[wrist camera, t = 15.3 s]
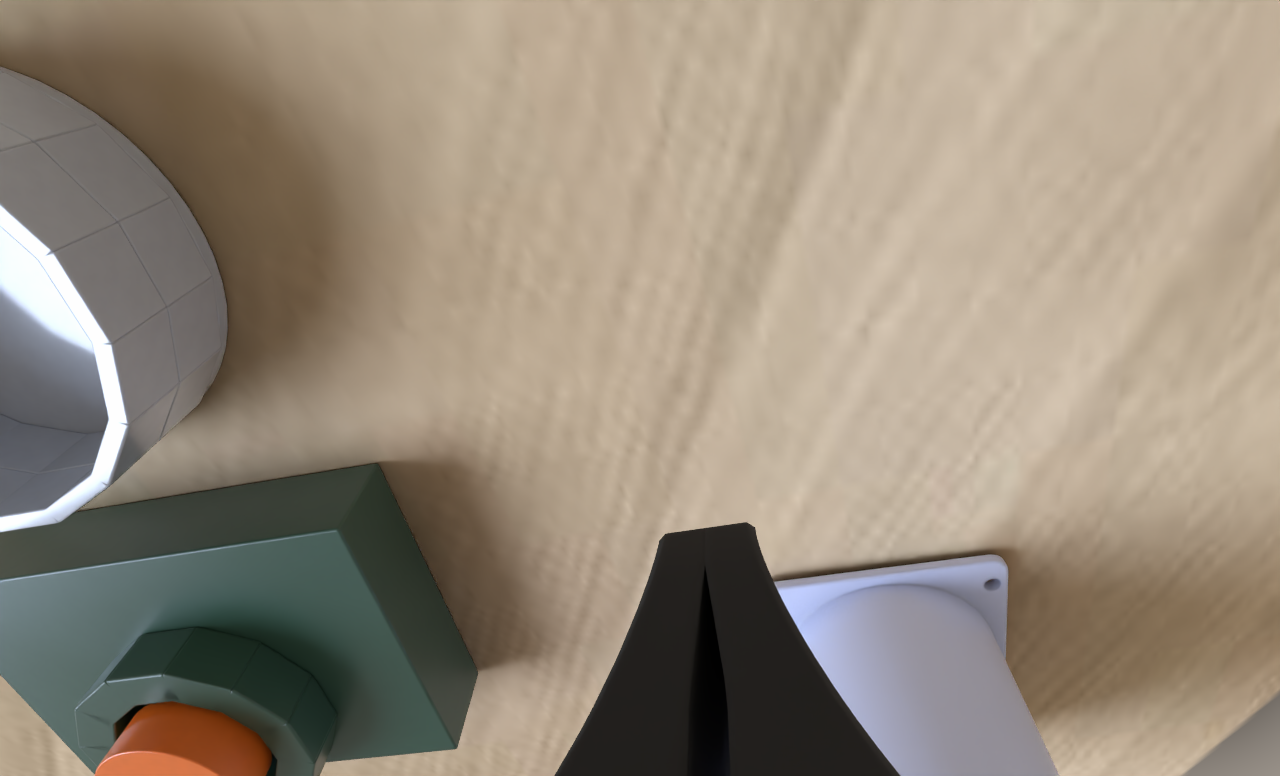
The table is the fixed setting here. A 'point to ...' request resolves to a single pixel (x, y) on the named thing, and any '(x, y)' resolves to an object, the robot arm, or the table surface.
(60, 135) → the pot
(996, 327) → the table surface
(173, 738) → the button
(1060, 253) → the table surface
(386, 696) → the control box
